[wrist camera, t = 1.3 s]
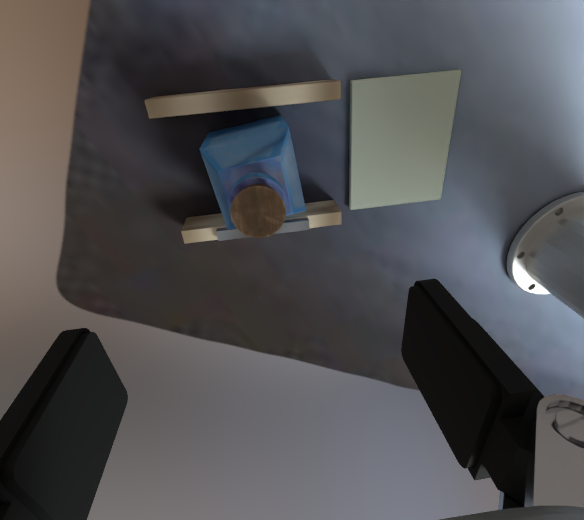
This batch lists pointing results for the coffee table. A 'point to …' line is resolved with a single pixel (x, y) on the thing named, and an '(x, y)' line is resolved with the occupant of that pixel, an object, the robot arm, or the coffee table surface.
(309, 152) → the coffee table surface
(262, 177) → the perfume bottle
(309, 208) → the cradle
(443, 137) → the mat
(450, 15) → the coffee table surface
